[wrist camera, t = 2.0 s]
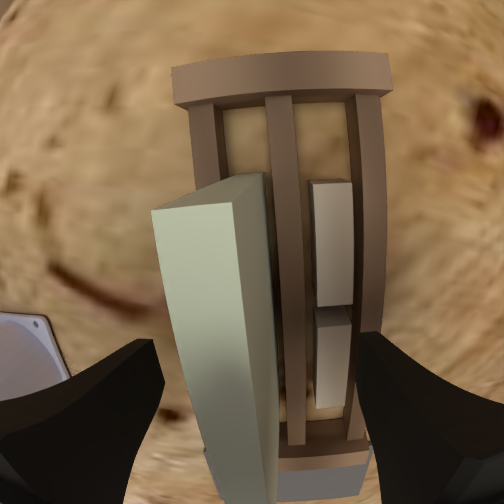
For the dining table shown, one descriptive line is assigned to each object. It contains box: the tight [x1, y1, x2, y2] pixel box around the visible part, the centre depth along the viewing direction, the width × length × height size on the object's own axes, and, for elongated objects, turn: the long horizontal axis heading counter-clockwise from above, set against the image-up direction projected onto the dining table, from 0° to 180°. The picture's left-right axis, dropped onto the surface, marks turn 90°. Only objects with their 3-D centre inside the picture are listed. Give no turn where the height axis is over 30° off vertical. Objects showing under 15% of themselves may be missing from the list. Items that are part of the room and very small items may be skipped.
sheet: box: [151, 172, 280, 504], centre depth 11 cm, size 1×12×10 cm, turn 5°
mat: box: [204, 441, 373, 502], centre depth 20 cm, size 12×8×1 cm, turn 95°
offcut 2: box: [313, 303, 352, 409], centre depth 15 cm, size 2×5×2 cm, turn 5°
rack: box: [171, 51, 393, 471], centre depth 14 cm, size 8×21×3 cm, turn 5°
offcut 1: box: [308, 179, 354, 307], centre depth 13 cm, size 2×5×2 cm, turn 5°
